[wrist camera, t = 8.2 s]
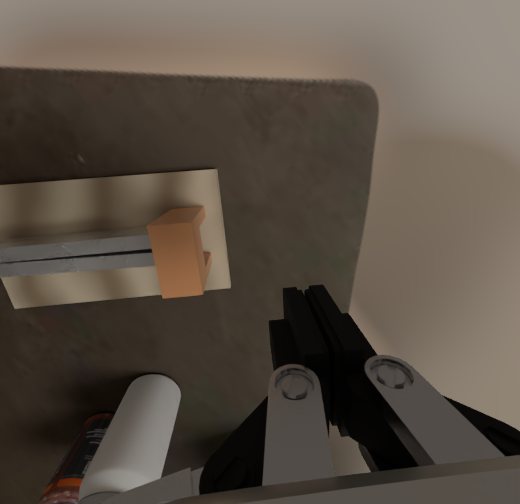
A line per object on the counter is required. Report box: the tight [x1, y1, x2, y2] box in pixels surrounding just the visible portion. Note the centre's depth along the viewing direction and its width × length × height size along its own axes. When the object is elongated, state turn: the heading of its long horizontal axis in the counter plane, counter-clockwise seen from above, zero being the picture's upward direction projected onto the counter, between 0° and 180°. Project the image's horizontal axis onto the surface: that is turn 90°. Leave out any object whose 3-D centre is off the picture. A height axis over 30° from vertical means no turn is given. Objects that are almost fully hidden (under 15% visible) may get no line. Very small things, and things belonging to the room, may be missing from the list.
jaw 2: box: [0, 249, 155, 278], centre depth 23 cm, size 15×1×3 cm, turn 93°
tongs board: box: [0, 169, 231, 309], centre depth 24 cm, size 22×12×4 cm, turn 94°
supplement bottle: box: [38, 413, 115, 504], centre depth 28 cm, size 6×6×11 cm
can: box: [77, 374, 181, 504], centre depth 27 cm, size 6×6×12 cm
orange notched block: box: [147, 206, 212, 299], centre depth 22 cm, size 3×6×7 cm, turn 4°
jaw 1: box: [0, 226, 152, 263], centre depth 22 cm, size 15×1×3 cm, turn 94°
